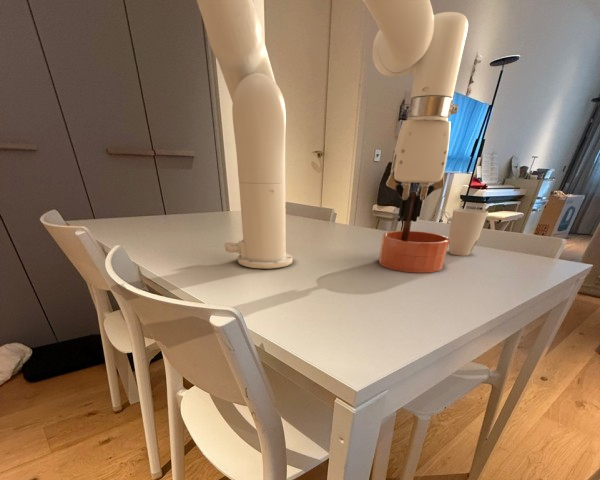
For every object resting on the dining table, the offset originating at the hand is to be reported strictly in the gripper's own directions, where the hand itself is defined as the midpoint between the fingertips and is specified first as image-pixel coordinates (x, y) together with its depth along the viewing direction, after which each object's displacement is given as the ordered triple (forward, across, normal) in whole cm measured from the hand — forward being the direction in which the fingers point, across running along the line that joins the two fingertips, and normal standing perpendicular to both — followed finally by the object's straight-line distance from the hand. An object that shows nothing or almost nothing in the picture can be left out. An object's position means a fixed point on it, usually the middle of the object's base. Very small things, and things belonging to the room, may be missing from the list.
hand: (408, 219), depth 74 cm
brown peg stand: (+7, 0, 0) cm, 7 cm away
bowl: (+9, -2, +1) cm, 9 cm away
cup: (+9, -18, -12) cm, 24 cm away
